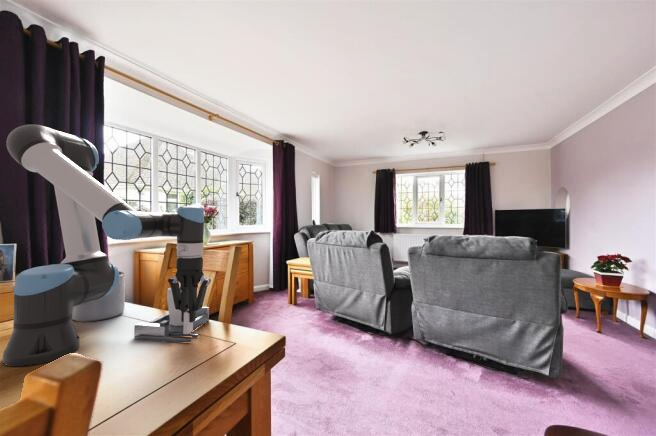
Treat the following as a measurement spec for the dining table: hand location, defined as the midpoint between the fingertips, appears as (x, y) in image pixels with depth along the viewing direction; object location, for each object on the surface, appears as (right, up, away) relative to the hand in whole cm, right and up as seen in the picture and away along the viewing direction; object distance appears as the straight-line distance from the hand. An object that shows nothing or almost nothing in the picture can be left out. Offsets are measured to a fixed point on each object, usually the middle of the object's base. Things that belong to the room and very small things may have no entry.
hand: (188, 332), depth 92 cm
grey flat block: (-12, -2, +1) cm, 12 cm away
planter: (-43, -2, +20) cm, 48 cm away
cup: (-8, -1, +11) cm, 13 cm away
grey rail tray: (-8, -2, +10) cm, 13 cm away
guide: (-7, -2, +1) cm, 7 cm away
